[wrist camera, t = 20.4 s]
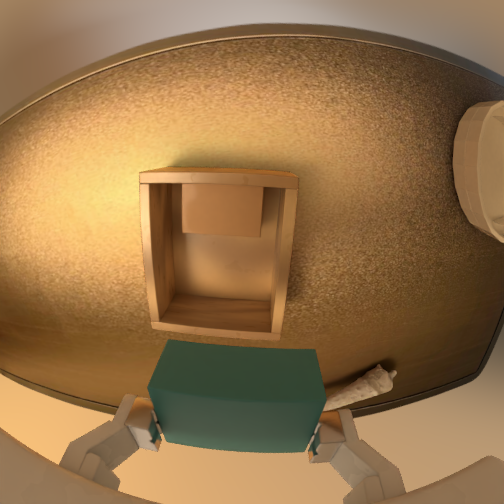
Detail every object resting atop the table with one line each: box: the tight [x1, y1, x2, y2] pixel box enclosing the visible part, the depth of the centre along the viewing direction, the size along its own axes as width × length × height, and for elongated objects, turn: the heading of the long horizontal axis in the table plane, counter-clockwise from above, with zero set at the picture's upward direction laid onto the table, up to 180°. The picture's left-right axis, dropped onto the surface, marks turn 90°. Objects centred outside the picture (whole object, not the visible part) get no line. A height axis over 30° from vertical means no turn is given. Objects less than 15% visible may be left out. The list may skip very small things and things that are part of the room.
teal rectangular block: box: [147, 339, 327, 453], centre depth 10 cm, size 4×6×3 cm, turn 87°
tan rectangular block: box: [182, 184, 264, 238], centre depth 21 cm, size 4×6×3 cm, turn 87°
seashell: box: [323, 364, 397, 411], centre depth 28 cm, size 14×4×4 cm
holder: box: [139, 167, 299, 341], centre depth 21 cm, size 13×11×6 cm
